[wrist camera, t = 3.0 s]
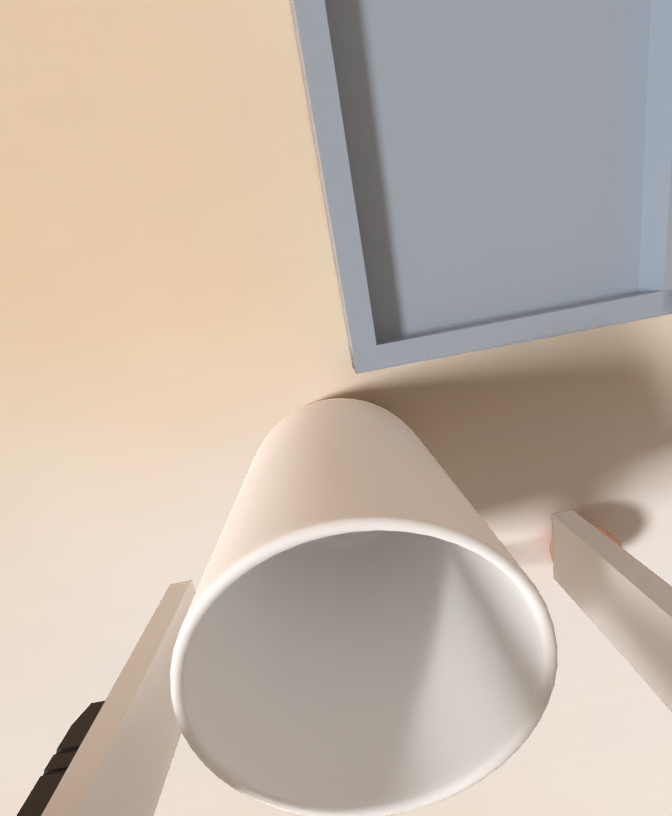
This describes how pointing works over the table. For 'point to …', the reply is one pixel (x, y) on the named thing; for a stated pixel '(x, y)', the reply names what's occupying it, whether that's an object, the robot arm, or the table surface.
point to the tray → (490, 167)
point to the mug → (358, 627)
